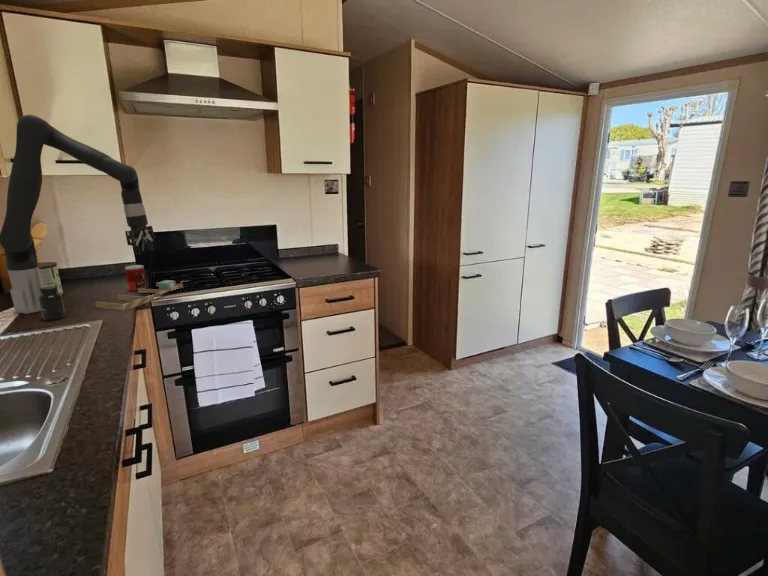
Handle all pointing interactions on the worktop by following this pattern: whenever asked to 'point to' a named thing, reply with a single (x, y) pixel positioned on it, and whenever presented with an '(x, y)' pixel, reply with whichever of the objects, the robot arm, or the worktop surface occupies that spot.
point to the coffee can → (50, 275)
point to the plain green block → (166, 284)
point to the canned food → (135, 277)
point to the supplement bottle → (51, 304)
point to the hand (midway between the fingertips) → (144, 252)
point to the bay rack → (135, 298)
